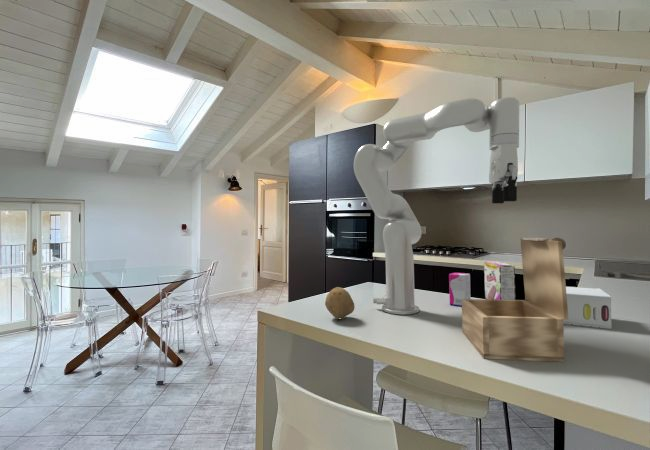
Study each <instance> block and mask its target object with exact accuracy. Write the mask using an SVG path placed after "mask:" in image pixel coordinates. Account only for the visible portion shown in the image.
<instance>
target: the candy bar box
mask: <svg viewBox="0 0 650 450" xmlns="http://www.w3.org/2000/svg"><path fill="white" fill-rule="evenodd" d="M483 268H484V269H483V273H484V299H488V300H516V279H515V277H516V275H515V274H516V273H515V268H516V267H515V265H513V264H509V263H505V262H501V261H483Z"/></svg>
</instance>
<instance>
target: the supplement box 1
mask: <svg viewBox="0 0 650 450" xmlns="http://www.w3.org/2000/svg"><path fill="white" fill-rule="evenodd" d="M448 283H449V285H448V286H449V288H448V289H449V293H448V294H449V306H454V307H460V308H462V299H472V297H471V296H472V295H471V274H470V273H465V272H452V273H449V274H448Z"/></svg>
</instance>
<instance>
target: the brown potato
mask: <svg viewBox="0 0 650 450" xmlns="http://www.w3.org/2000/svg"><path fill="white" fill-rule="evenodd" d="M324 305H325V308H326V309H327V311H328V312H329V313H330V314H331V315H332V317H333V318H335V319H337V318H343V319H345V318H346V317H347V316H348V315H350V314H352V313H353V312H354V311H355V302H354V300H353V298H352V297H351V295H350V293H349V292H348V291H347V290H346V289H345V288H344V287H341V286H340V287H339V286H336V287H334V288H332V289H331V290H330V291H329V292H328V293H327V295H326V297H325V302H324Z"/></svg>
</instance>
